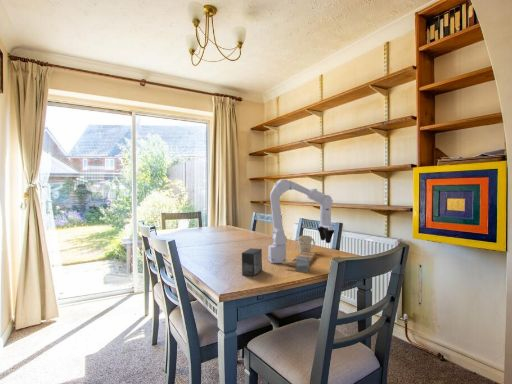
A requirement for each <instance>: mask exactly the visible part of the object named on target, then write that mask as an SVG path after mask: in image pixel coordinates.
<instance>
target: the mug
mask: <svg viewBox="0 0 512 384" xmlns="http://www.w3.org/2000/svg"><path fill="white" fill-rule="evenodd" d="M297 242H298V249H299V254H300V253H301V252H304V253H311V250H313V249H314V248H315V245H316V241H315V239H314V238H313V237H312V236H311V235H298V236H297ZM311 246H312V247H311Z"/></svg>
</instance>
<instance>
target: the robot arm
mask: <svg viewBox="0 0 512 384" xmlns="http://www.w3.org/2000/svg"><path fill="white" fill-rule="evenodd" d="M292 190H294V191H297V192H299V193H301V194H304V195H305V196H307V198H308V199H309V200H312V201H314V202H316V203H318V204H320V206H319V207H320V208H319V212H320V213H319V214H320V215H319V216H320V218H319V221H320V222H319V224H318V227H317V230H318V233H319V237H320V240H321V241H325V243H326V244H330V243H331V242H332V237H333V235H334V233H335V230H334V228H333V226H334V225H333V224H332V204H333V202H334V200H333V198H332V196H331V195H328V194H326V193H325V192H321V191H318V189H317V188H311V189H309V188H307V187H304V186H302V185H300V184H299V183H297V182H295V181H292V180H288V179H286V178H284V179H278V180H277V181H276V182H275V183H274V184H273V187H272V189H271V191H270V194H269V198H270V199H269V200H270V201H269V202H270V208H271V218H272V224H273V228H272V230H273V231H272V235H271V237H272V241H273V242H272V244H271V245H270V244H269V245H268V247H267V248H268V249H267V250H268V251H267V252H268V253H267V255H268V256H267V257H268V258H267V261H268V262H270V264H282V261H283V259H285V261H288V260H287V241H288V238H287V235H286V234H285V229H284V226H283V219H282V211H281V210H282V209H281V202H280V198H281V196H283V194H284V193H286V192H287V191H292Z"/></svg>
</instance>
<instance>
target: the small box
mask: <svg viewBox="0 0 512 384" xmlns="http://www.w3.org/2000/svg"><path fill="white" fill-rule="evenodd" d="M262 250H263V249H262V248H252V247H250V248H248V249H246V250H245V251H242V252H241V272H242V273H241V275H242V276H247V277H256V276H257V275H258V274H259V273H261V272H262V271H263V252H262Z"/></svg>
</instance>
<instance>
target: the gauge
mask: <svg viewBox="0 0 512 384" xmlns="http://www.w3.org/2000/svg"><path fill="white" fill-rule="evenodd" d="M281 264H283V265H290V266H291V265H297V267H296V272H301V273H302V272H303V273H308V272H309V271H310V264H309V258H307V257H298V258H297V262H293V260H291V261H290V260H287V261H285V259H283V261H282V263H281Z"/></svg>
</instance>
